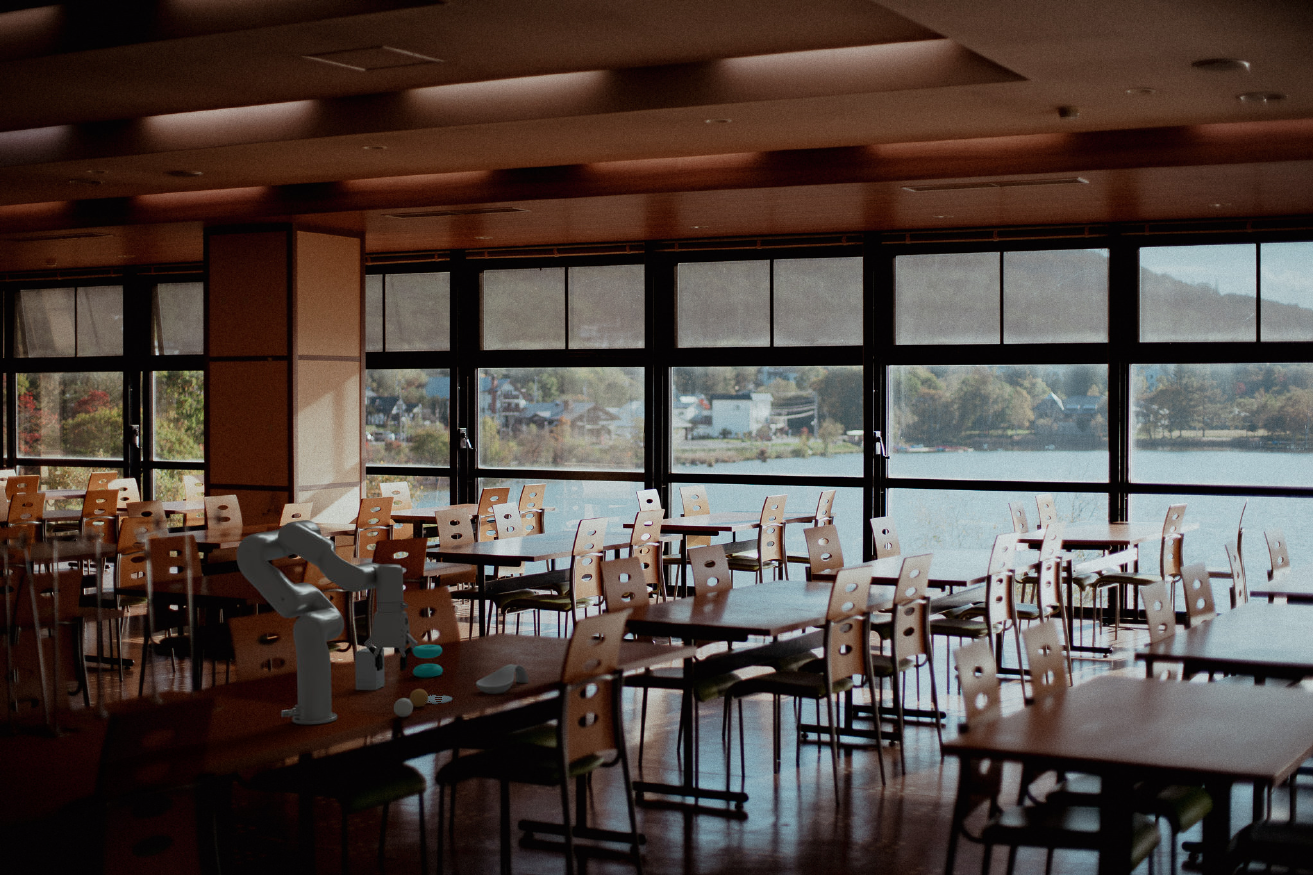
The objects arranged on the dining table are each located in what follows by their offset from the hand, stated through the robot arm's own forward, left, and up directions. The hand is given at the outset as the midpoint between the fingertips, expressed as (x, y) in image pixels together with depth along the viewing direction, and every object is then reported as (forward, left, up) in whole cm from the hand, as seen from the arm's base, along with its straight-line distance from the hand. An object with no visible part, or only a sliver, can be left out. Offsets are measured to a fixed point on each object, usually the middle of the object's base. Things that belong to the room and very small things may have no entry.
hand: (391, 669), depth 384 cm
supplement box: (+13, +56, -16) cm, 60 cm away
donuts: (+37, +66, -16) cm, 78 cm away
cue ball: (+6, +7, -13) cm, 16 cm away
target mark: (+21, +26, -16) cm, 37 cm away
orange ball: (+15, +18, -13) cm, 27 cm away
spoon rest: (+48, +29, -16) cm, 59 cm away
